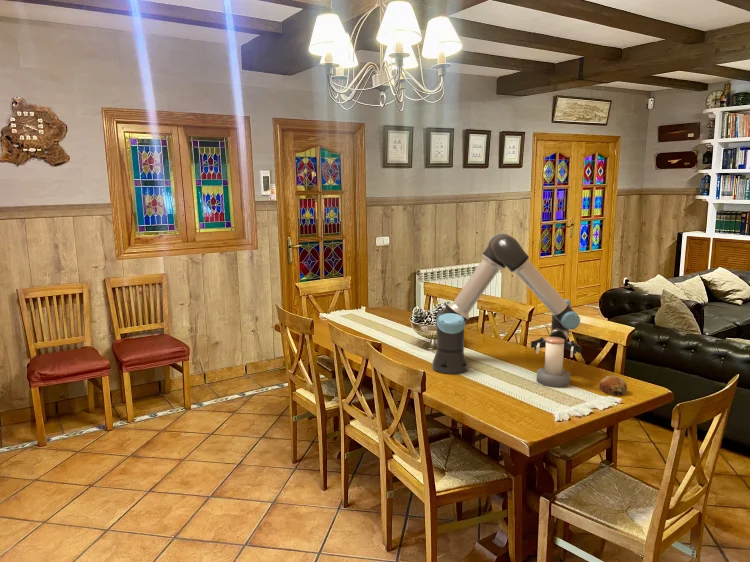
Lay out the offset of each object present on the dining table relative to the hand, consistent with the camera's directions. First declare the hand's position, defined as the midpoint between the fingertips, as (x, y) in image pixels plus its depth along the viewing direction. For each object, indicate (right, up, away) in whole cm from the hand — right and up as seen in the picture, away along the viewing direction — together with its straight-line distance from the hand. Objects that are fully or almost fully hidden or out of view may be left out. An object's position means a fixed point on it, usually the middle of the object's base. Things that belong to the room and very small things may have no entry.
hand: (554, 352), depth 220 cm
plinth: (+1, -13, +5) cm, 14 cm away
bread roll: (+21, -15, -5) cm, 26 cm away
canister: (+1, -9, +5) cm, 10 cm away
